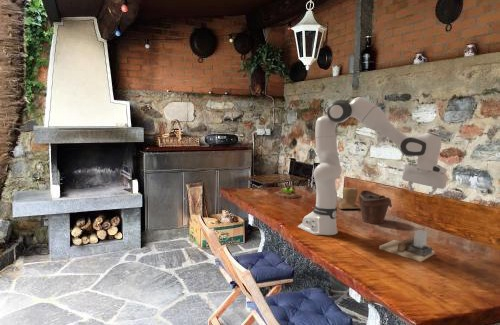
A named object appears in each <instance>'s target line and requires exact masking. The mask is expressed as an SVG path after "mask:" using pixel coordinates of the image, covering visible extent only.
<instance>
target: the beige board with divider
mask: <svg viewBox="0 0 500 325" xmlns="http://www.w3.org/2000/svg"><path fill="white" fill-rule="evenodd" d="M413 246H414V236H410V237H409V238H407V239H404V240H402V241H401V240H397V239H392V240H390V241H387V242H385V243H383V244H380V245H379V246H378V247H379V248H378V249H379V250H381V251H384V252H388V253H391V254H395V255H398V256H400V257H404V258H407V259H411V260H412V261H413V260H414V261H417V262H421V263H422V262H423V261H425V260H427V259H428V258H430V257H432V256H433V255H435V250H433V247H432V246H427V245H426V249H425V250H421V249H417V248H414V247H413Z"/></svg>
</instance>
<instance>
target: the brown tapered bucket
mask: <svg viewBox="0 0 500 325" xmlns="http://www.w3.org/2000/svg"><path fill="white" fill-rule="evenodd" d="M357 201H358V203H359V207H360V208H359V209H360V214H361V220H362V221H363V222H365V223H368V224H372V225H373V224H374V225H375V224H376V225H377V224H378V225H381V224H383V223H384V221H385V217H386V215H387V212H388V208H392V207H393V205H392V204H393V203H392V200H391V198H390V197H386V196H385V195H381V194H378V193H375V192H374V191H373V192H372V191H370V190H362V191H360V193H359V196H358V197H357Z"/></svg>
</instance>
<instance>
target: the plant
mask: <svg viewBox="0 0 500 325" xmlns="http://www.w3.org/2000/svg"><path fill="white" fill-rule="evenodd" d="M284 185H286V187H283V188H281V190H279V191H275V192H273V196H276V197H277V198H281V199H287V200H293V199H296V198H302V197H301V196H302V194H301V193H300V192H297V191H294V189H293V187H294V185H293V184H290V185H289V184H288V182H287V181H285V182H284Z"/></svg>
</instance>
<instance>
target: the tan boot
mask: <svg viewBox="0 0 500 325" xmlns="http://www.w3.org/2000/svg"><path fill="white" fill-rule="evenodd" d="M358 193H359V192H358V189H357V188H354V187H343V188H342V198H343V202H342V203H339V204H338V205H337V207H338V208H339V209H340V210H354V209H357V210H358V209H361V208H360V205H357V204H356V202H357V200H358V195H359V194H358Z"/></svg>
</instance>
